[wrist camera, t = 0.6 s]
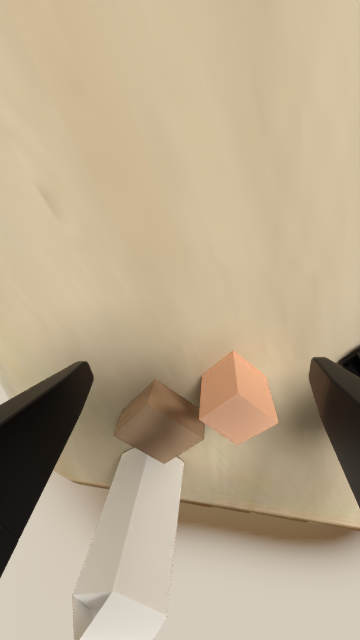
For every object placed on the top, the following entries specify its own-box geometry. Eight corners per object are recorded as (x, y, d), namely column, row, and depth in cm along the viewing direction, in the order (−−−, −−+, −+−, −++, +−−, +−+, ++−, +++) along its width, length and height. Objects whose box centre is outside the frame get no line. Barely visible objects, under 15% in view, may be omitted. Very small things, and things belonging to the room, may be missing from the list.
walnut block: (205, 410, 30) (204, 439, 26) (169, 435, 33) (164, 464, 30) (155, 377, 28) (147, 404, 24) (123, 408, 32) (112, 435, 28)
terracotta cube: (265, 375, 25) (278, 423, 20) (233, 397, 28) (237, 445, 22) (233, 350, 24) (238, 393, 19) (202, 375, 26) (198, 419, 21)
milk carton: (152, 437, 33) (91, 673, 17) (184, 461, 35) (159, 693, 19) (122, 452, 36) (47, 664, 20) (154, 473, 38) (108, 683, 22)
